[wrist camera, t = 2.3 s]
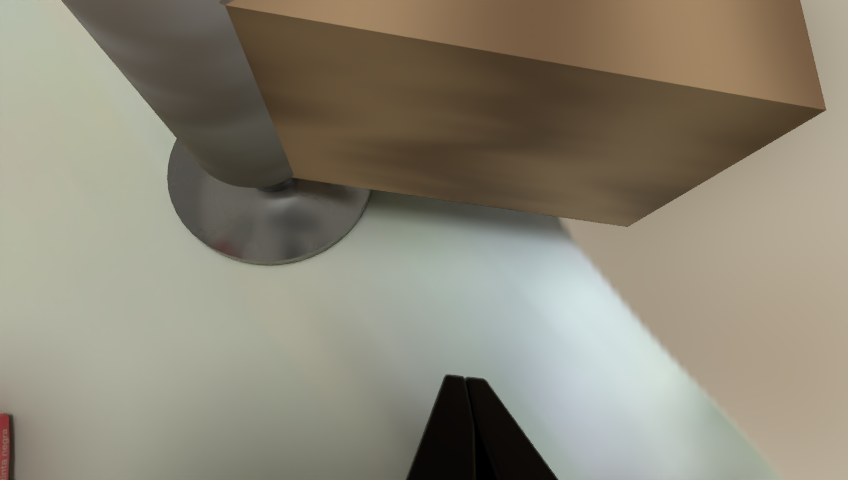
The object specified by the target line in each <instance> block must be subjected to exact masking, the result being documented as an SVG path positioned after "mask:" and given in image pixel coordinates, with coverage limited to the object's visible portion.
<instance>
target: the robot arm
mask: <svg viewBox="0 0 848 480" xmlns="http://www.w3.org/2000/svg"><path fill="white" fill-rule="evenodd" d="M406 480H558V479H557V477H556V476H555V474H554V473H553V472H552V470H551V469H550V468H549V466H548V465H547V463H546V462H545V461H544V459H543V458H542V457H541V455H540V454H539V452H538V451H537V450H536V448H535V447H534V446H533V444H532V443H531V441H530V440H529V439H528V437H527V436H526V435H525V433H524V432H523V430H522V429H521V428H520V426H519V425H518V424H517V422H516V421H515V419H514V418H513V417H512V415H511V414H510V413H509V411H508V410H507V408H506V407H505V406H504V404H503V403H502V402H501V400H500V399H499V397H498V396H497V395H496V393H495V392H494V390H493V389H492V388H491V386H490V385H489V384H488V382H487V381H486V380H485V379H483V378H475V377H466V378H464V377H463V376H458V375H449V374H447V375H445V377H444V379H443V382H442V385H441V387H440V390H439V393H438V395H437V398H436V401H435V403H434V406H433V408H432V411H431V414H430V416H429V419H428V422H427V424H426V427H425V430H424V432H423V435H422V438H421V440H420V443H419V446H418V448H417V451H416V454H415V456H414V459H413V462H412V464H411V467H410V470H409V472H408V475H407V478H406Z"/></svg>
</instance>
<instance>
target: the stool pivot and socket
mask: <svg viewBox="0 0 848 480" xmlns="http://www.w3.org/2000/svg"><path fill="white" fill-rule="evenodd" d="M167 180H168V190H169V194H170V198H171V201H172V204H173V206H174V208H175V211H176V213H177V215H178V216H179V218H180V219H181V221H182V222H183V224H184V225H185V226H186V227H187V228H188V229H189V230H190V232H191V233H192V234H193V235H195V236H196V237H197V238H198V239H199V240H201V241H202V242H203V243H204V244H206V245H207V246H208V247H210V248H212V249H213V250H215V251H216V252H218V253H220V254H222V255H224V256H227V257H229V258H231V259H234V260H238V261H241V262H245V263H251V264H257V265H279V264H288V263H292V262H297V261H301V260H304V259H307V258H310V257H312V256H315V255H317V254H319V253H321V252H323V251H325V250H326V249H328V248H330V247H331V246H333V245H334V244H336V243H337V242H338V241H339V240H340V239H342V238H343V237H344V236H345V235H346V234H347V233H348V232H349V231H350V230H351V229H352V228H353V227H354V226H355V224H356V223H357V221H358V220H359V218H360V217H361V215H362V214H363V212H364V210H365V208H366V206H367V203H368V200H369V197H370V194H371V190H372V189H367V188H360V187H353V186H346V185H340V184H333V183H326V182H319V181H312V180H306V179H299V178H292V177H290V178H289V179H287V180H285V181H282V182H280V183H277V184H274V185H270V186H265V187H258V188H246V187H238V186H233V185H230V184H227V183H224V182H221V181H219V180H217V179H215V178H214V177H212V176H211V175H209V174H208V173H207V172H206V171H205V170H203V169H202V168H201V166H200V165H199V164H198V163H197V162H196V160H195V159H194V158H193V157H192V156H191V154H190V153H189V152H188V151H187V150H186V148H185V147H184V146H183V145H182V144H181V142H180V141H179V140H178V139H177V140H176V142H175V144H174V146H173V149H172V152H171V154H170V159H169V164H168V175H167Z"/></svg>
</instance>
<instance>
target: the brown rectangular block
mask: <svg viewBox="0 0 848 480" xmlns="http://www.w3.org/2000/svg"><path fill="white" fill-rule="evenodd" d="M62 2H63V3H64V4H65V5H66V6H67V8H68V9H69V10H70V11H71V12H72V14H73V15H74V16H75V17H76V18H77V19H78V21H79V22H80V23H81V24H82V25H83V27H84V28H85V29H86V30H87V31H88V33H89V34H90V35H91V36H92V37H93V39H94V40H95V41H96V42H97V43H98V45H99V46H100V47H101V48H102V49H103V51H104V52H105V53H106V54H107V55H108V57H109V58H110V59H111V60H112V61H113V62H114V64H115V65H116V66H117V67H118V68H119V70H120V71H121V72H122V73H123V74H124V76H125V77H126V78H127V79H128V80H129V82H130V83H131V84H132V85H133V86H134V88H135V89H136V90H137V91H138V92H139V94H140V95H141V96H142V97H143V98H144V100H145V101H146V102H147V103H148V104H149V105H150V107H151V108H152V109H153V110H154V111H155V113H156V114H157V115H158V116H159V117H160V119H161V120H162V121H163V122H164V123H165V125H166V126H167V127H168V128H169V129H170V131H171V132H172V133H173V134H174V135H175V137H176V138H177V139H178V140H179V141H180V142H181V144H182V145H183V146H184V147H185V148H186V150H187V151H188V152H189V153H190V154H191V156H192V157H193V158H194V159H195V160H196V162H197V163H198V164H199V165H200V166H201V168H202V169H203V170H205V171H206V172H207V173H208V174H209V175H211V176H212V177H214V178H215V179H217V180H219V181H221V182H224V183H227V184H230V185H233V186H238V187H246V188H258V187H265V186H270V185H274V184H277V183H280V182H282V181H285V180H287V179H289V178H290V177H292V178H299V179H306V180H312V181H319V182H326V183H333V184H340V185H346V186H353V187H360V188H367V189H374V190H380V191H387V192H394V193H401V194H408V195H414V196H421V197H428V198H435V199H441V200H448V201H455V202H462V203H469V204H475V205H482V206H489V207H496V208H503V209H509V210H516V211H523V212H530V213H536V214H543V215H550V216H557V217H564V218H571V219H578V220H584V221H591V222H598V223H605V224H612V225H618V226H625V227H628V226H630V225H631V224H633V223H635V222H637V221H638V220H640V219H642V218H643V217H645V216H647V215H648V214H650V213H652V212H654V211H655V210H657V209H659V208H660V207H662V206H664V205H665V204H667V203H669V202H670V201H672V200H674V199H676V198H677V197H679V196H681V195H683V194H684V193H686V192H688V191H689V190H691V189H692V188H694V187H696V186H697V185H700V184H701V183H703V182H705V181H706V180H708V179H710V178H711V177H713V176H715V175H716V174H718V173H720V172H722V171H723V170H725V169H727V168H728V167H730V166H732V165H734V164H735V163H737V162H739V161H740V160H742V159H744V158H745V157H747V156H749V155H750V154H752V153H754V152H755V151H757V150H759V149H761V148H762V147H764V146H766V145H767V144H769V143H771V142H773V141H774V140H776V139H778V138H779V137H781V136H783V135H784V134H786V133H788V132H790V131H791V130H793V129H795V128H796V127H798V126H800V125H802V124H803V123H805V122H806V121H808V120H810V119H812V118H813V117H815V116H817V115H818V114H820V113H822V112H824V111H825V110H826V108H825V103H824V99H823V95H822V91H821V86H820V82H819V78H818V74H817V70H816V66H815V62H814V57H813V53H812V49H811V45H810V40H809V36H808V32H807V28H806V23H805V19H804V15H803V12H802V7H801V3H800V0H62Z"/></svg>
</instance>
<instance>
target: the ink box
mask: <svg viewBox="0 0 848 480" xmlns="http://www.w3.org/2000/svg"><path fill="white" fill-rule="evenodd" d="M9 446H10V445H9V416H8V415H7V414H0V480H8V474H9Z"/></svg>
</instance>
